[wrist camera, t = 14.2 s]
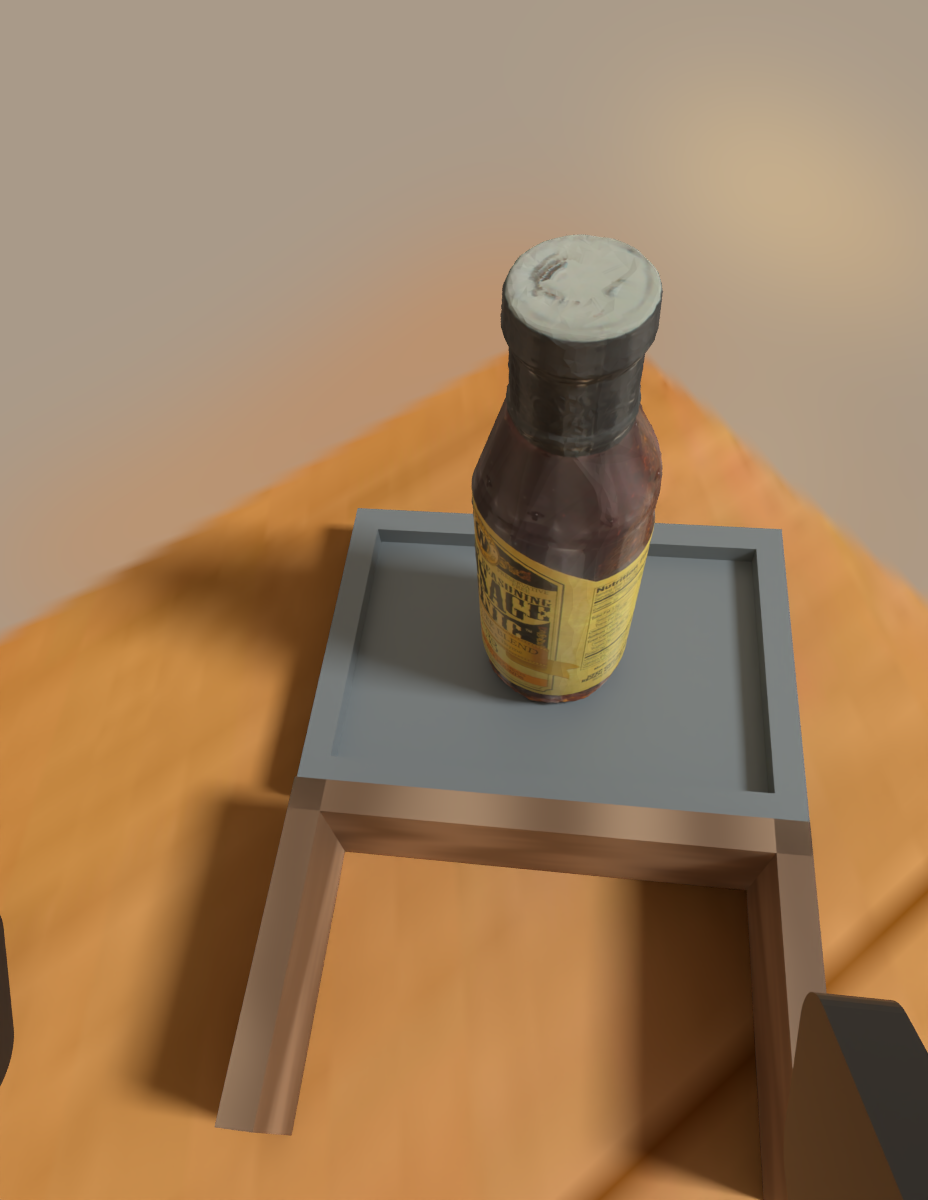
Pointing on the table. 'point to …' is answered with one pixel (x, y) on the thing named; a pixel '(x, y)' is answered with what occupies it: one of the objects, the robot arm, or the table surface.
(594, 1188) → the table surface
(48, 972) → the table surface
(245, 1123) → the holder
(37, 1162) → the table surface
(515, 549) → the sauce bottle
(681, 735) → the tray
